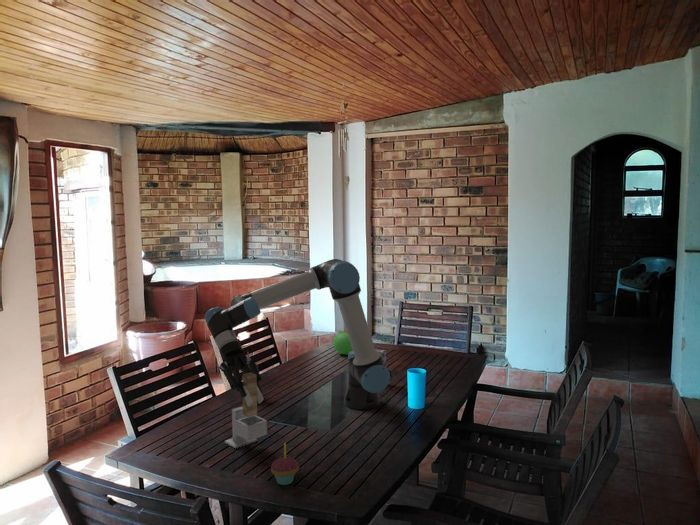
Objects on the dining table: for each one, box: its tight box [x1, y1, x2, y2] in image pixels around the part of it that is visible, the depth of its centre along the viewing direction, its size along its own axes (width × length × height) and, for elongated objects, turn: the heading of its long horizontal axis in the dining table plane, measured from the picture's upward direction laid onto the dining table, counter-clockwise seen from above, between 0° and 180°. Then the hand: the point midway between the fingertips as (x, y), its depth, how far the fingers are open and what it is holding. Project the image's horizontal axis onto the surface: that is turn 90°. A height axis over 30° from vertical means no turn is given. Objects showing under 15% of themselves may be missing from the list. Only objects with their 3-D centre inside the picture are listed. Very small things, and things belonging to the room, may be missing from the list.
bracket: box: [224, 405, 268, 450], centre depth 185 cm, size 14×9×12 cm, turn 44°
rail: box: [241, 373, 258, 417], centre depth 182 cm, size 4×4×14 cm
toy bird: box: [332, 329, 353, 356], centre depth 305 cm, size 18×17×15 cm
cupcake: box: [270, 442, 300, 486], centre depth 160 cm, size 9×8×12 cm
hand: (256, 402), depth 179 cm, fingers closed on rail, 3 cm apart
